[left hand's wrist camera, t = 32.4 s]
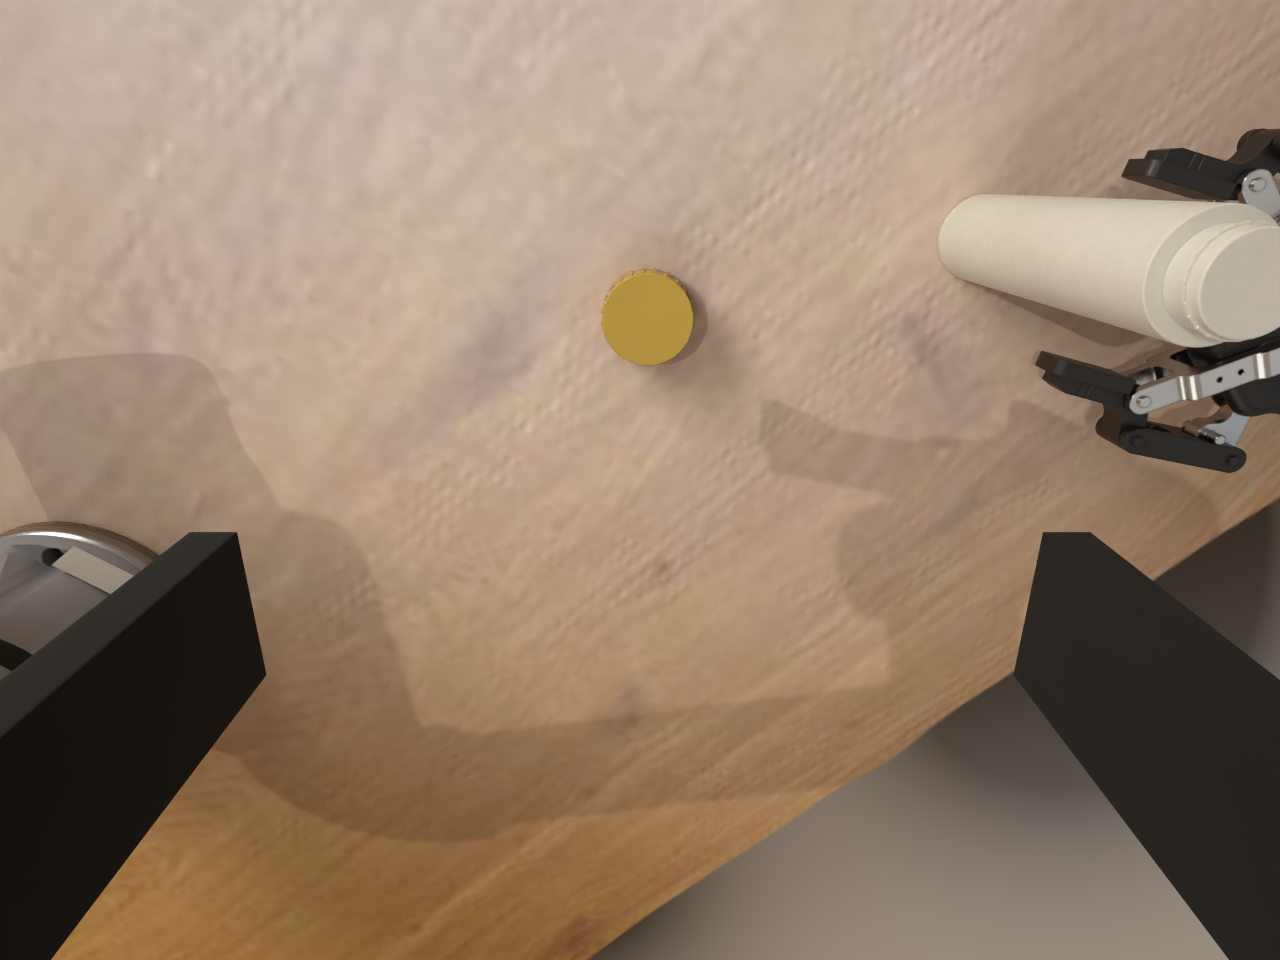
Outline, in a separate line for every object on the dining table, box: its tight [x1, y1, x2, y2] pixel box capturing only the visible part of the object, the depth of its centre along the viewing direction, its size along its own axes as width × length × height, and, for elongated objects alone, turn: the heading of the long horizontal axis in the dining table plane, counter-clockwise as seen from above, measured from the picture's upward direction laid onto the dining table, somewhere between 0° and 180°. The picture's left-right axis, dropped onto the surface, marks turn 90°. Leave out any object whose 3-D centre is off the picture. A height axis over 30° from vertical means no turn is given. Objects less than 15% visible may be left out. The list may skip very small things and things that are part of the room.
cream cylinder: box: [938, 194, 1280, 348], centre depth 30 cm, size 4×4×19 cm
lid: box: [601, 268, 694, 365], centre depth 40 cm, size 5×5×2 cm
